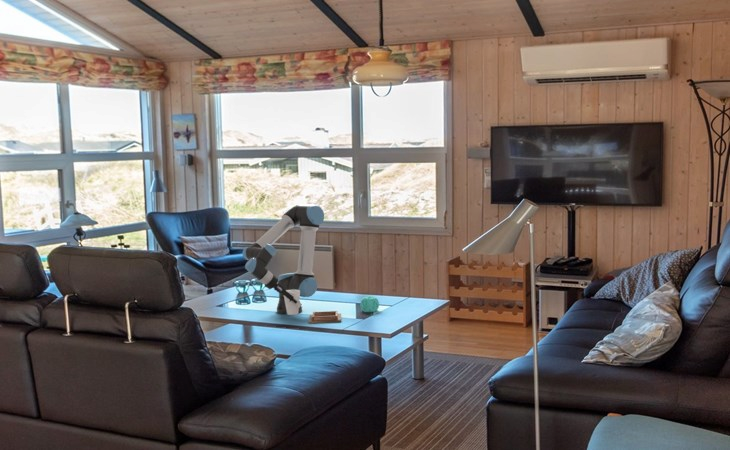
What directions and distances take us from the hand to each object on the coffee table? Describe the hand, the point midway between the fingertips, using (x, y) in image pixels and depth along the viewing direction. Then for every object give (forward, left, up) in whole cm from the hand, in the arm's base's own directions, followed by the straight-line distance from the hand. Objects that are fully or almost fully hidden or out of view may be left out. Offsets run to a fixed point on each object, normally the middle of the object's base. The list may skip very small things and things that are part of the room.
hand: (297, 304), depth 424 cm
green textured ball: (-16, +41, -9) cm, 45 cm away
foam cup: (+1, -3, -5) cm, 6 cm away
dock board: (+3, +15, -9) cm, 18 cm away
